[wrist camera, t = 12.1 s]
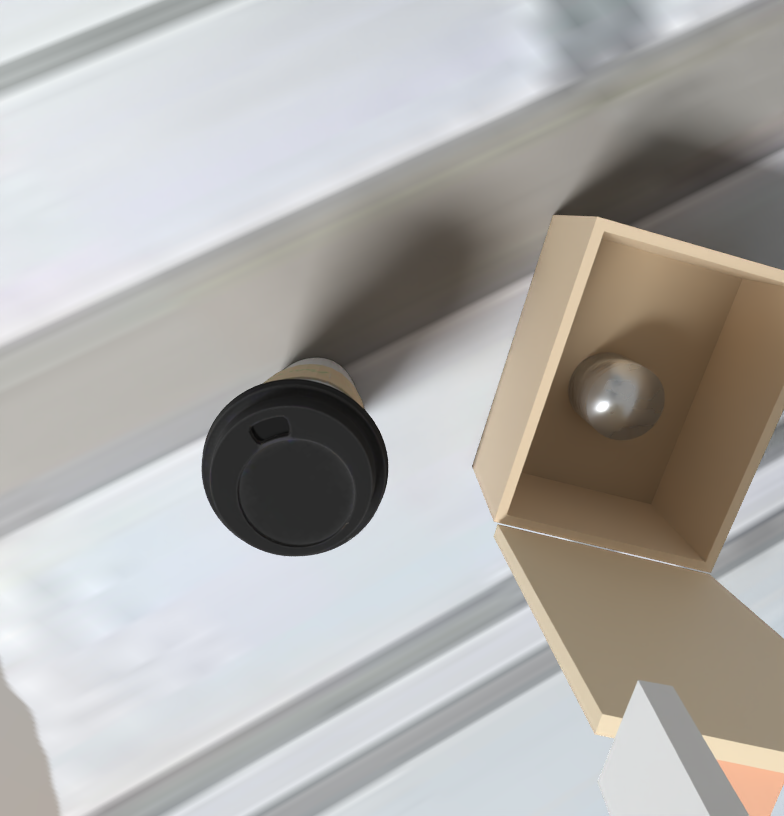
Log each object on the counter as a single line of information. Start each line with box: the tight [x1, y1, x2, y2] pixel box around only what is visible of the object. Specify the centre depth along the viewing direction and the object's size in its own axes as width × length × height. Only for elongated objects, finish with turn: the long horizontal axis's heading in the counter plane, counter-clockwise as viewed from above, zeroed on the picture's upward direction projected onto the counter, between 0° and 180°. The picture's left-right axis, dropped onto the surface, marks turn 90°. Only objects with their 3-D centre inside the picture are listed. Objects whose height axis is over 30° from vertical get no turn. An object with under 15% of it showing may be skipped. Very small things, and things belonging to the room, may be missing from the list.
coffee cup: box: [202, 358, 388, 556], centre depth 40 cm, size 9×9×15 cm
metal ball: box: [568, 352, 665, 440], centre depth 45 cm, size 5×5×4 cm
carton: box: [472, 215, 784, 573], centre depth 43 cm, size 18×14×9 cm
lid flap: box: [494, 525, 784, 816], centre depth 33 cm, size 17×14×9 cm
